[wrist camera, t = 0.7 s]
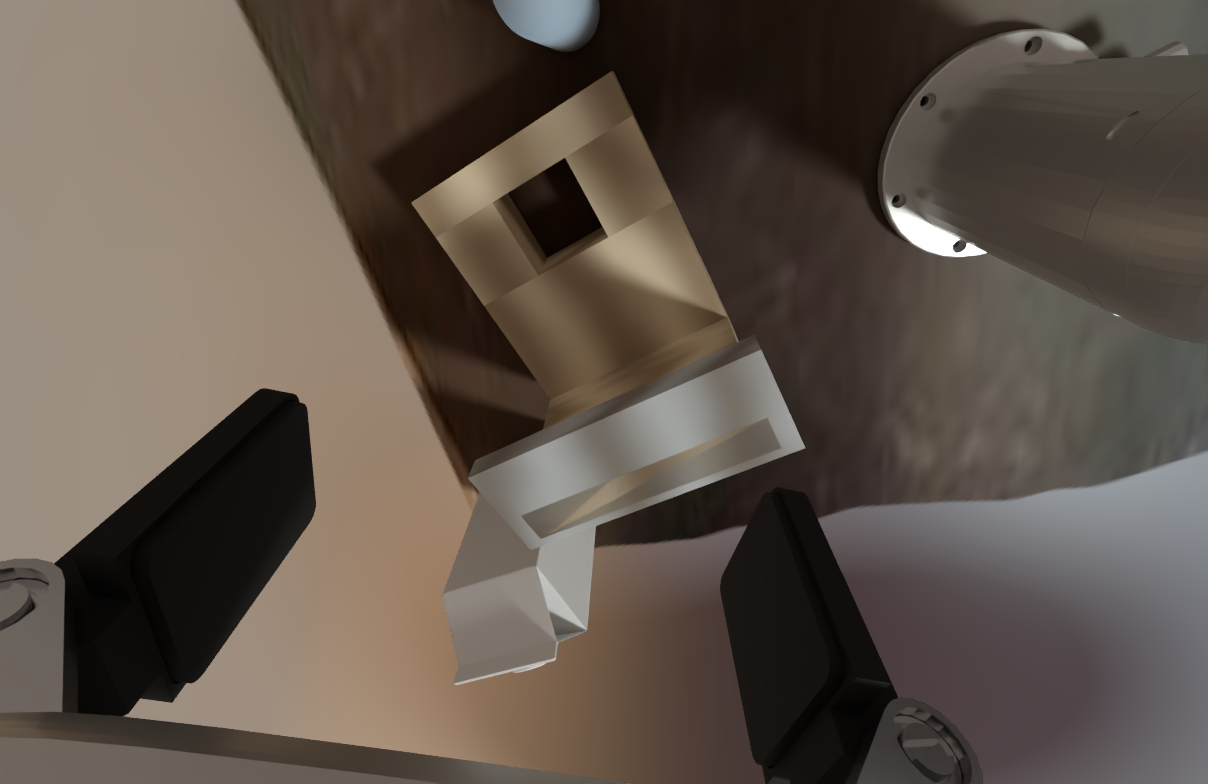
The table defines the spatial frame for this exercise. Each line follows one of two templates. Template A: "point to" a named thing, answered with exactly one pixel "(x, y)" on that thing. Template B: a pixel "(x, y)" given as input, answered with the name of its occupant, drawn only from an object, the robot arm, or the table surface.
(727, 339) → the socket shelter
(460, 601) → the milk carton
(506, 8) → the peg
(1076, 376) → the table surface
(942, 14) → the table surface
